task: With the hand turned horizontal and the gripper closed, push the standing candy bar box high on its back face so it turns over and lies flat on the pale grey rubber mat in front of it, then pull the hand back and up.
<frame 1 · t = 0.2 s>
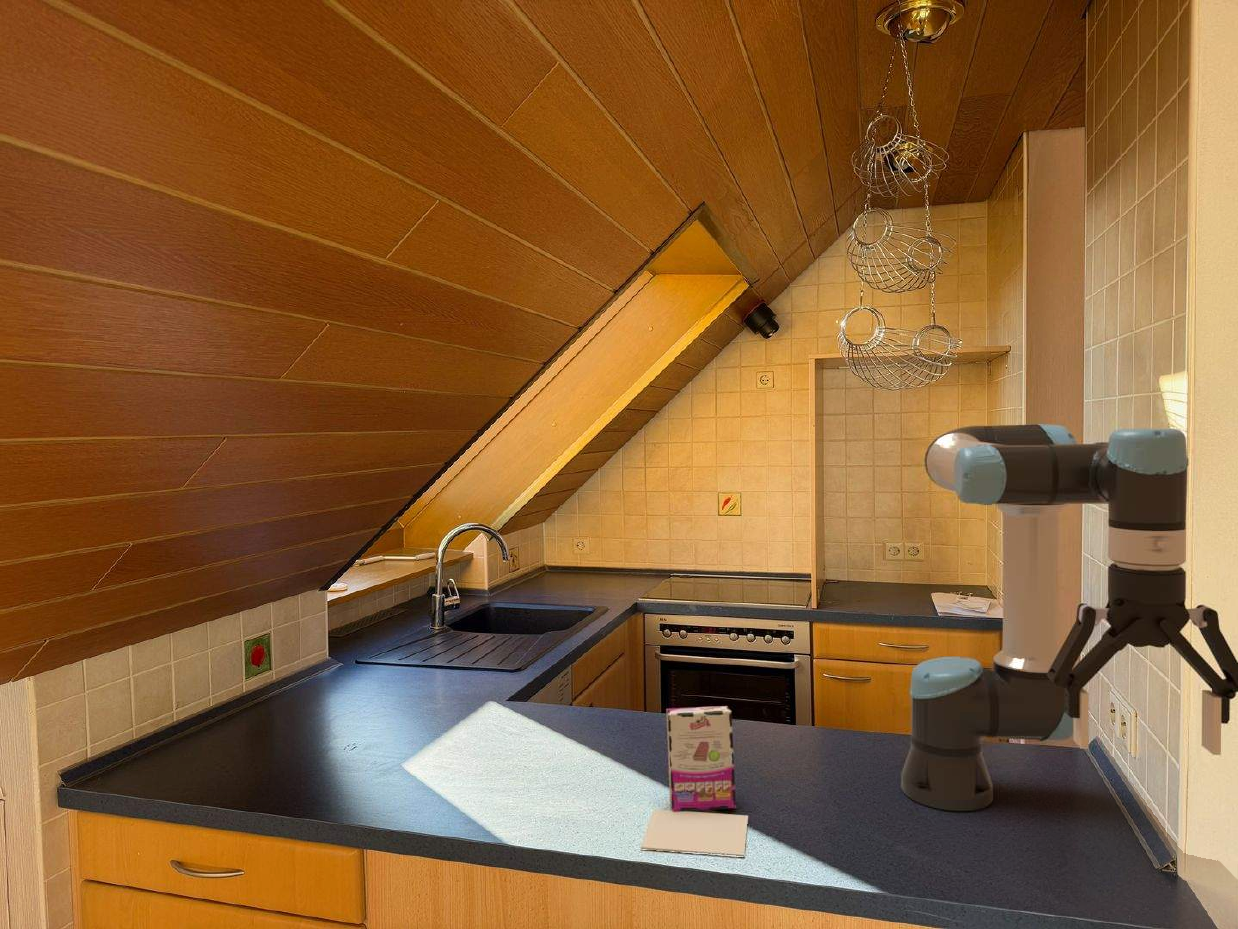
hand: (1145, 747, 97), 28 cm above the worktop, tool pointing down, fingers open, 13 cm apart
mat: (696, 833, 136), on the worktop
candy bar box: (702, 807, 145), on the worktop, touching mat
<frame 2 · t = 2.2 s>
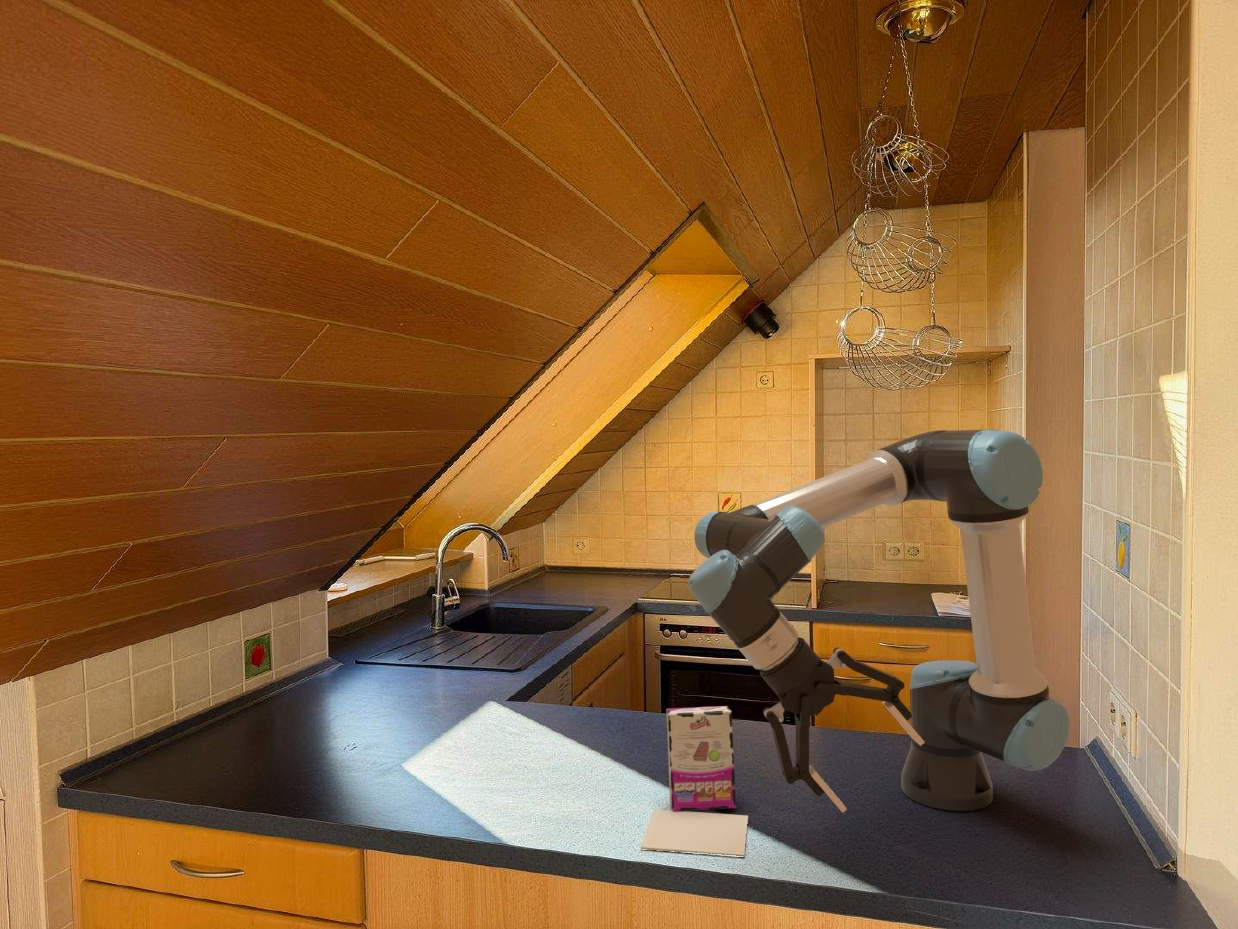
hand: (880, 774, 113), 19 cm above the worktop, tool tilted 40°, fingers open, 13 cm apart
nothing on the worktop moved.
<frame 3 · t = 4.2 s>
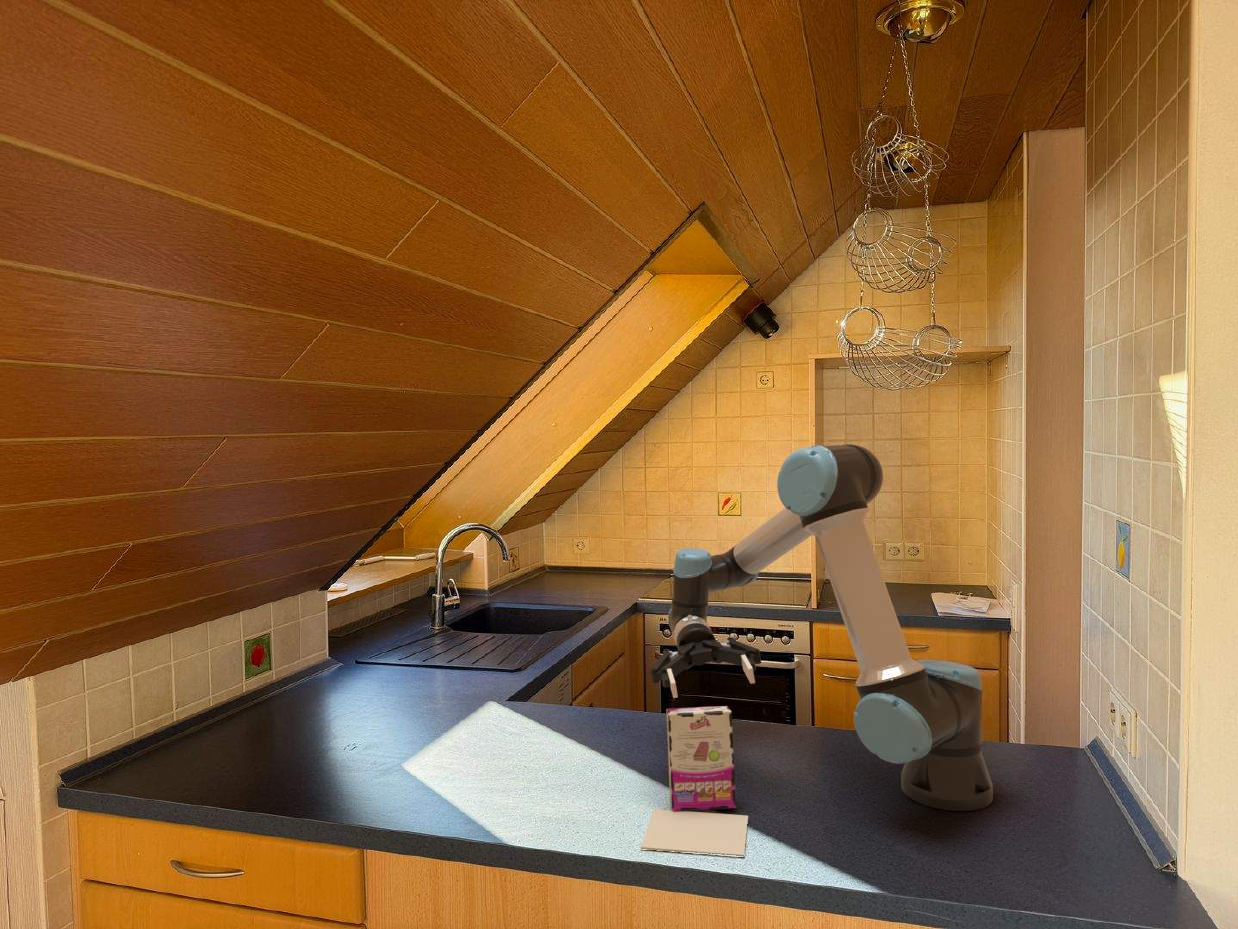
hand: (713, 683, 145), 21 cm above the worktop, tool horizontal, fingers open, 13 cm apart
nothing on the worktop moved.
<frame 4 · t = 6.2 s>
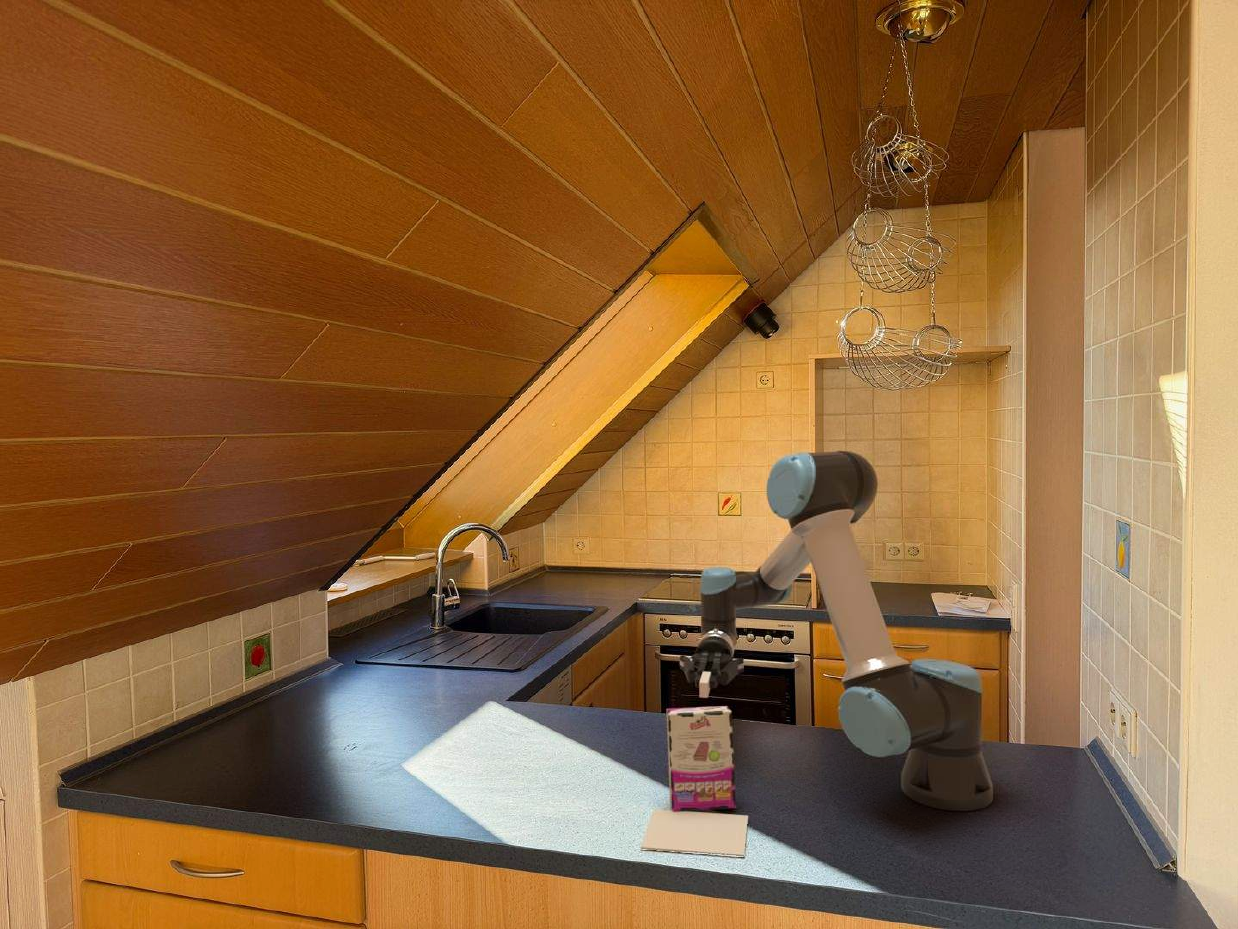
hand: (703, 690, 151), 18 cm above the worktop, tool horizontal, fingers closed
nothing on the worktop moved.
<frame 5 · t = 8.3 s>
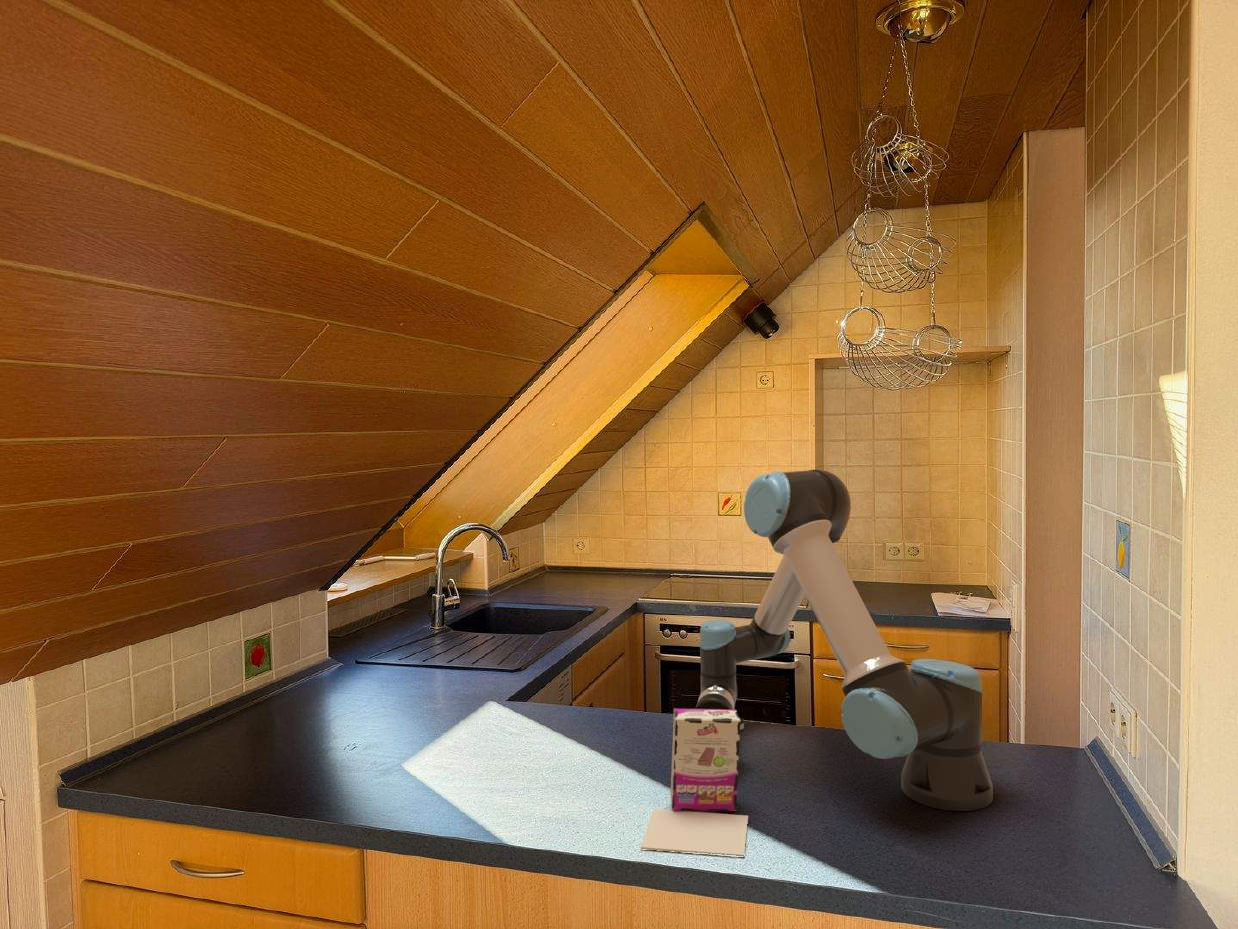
hand: (702, 756, 147), 8 cm above the worktop, tool horizontal, fingers closed
candy bar box: (702, 805, 145), on the worktop, touching gripper, mat
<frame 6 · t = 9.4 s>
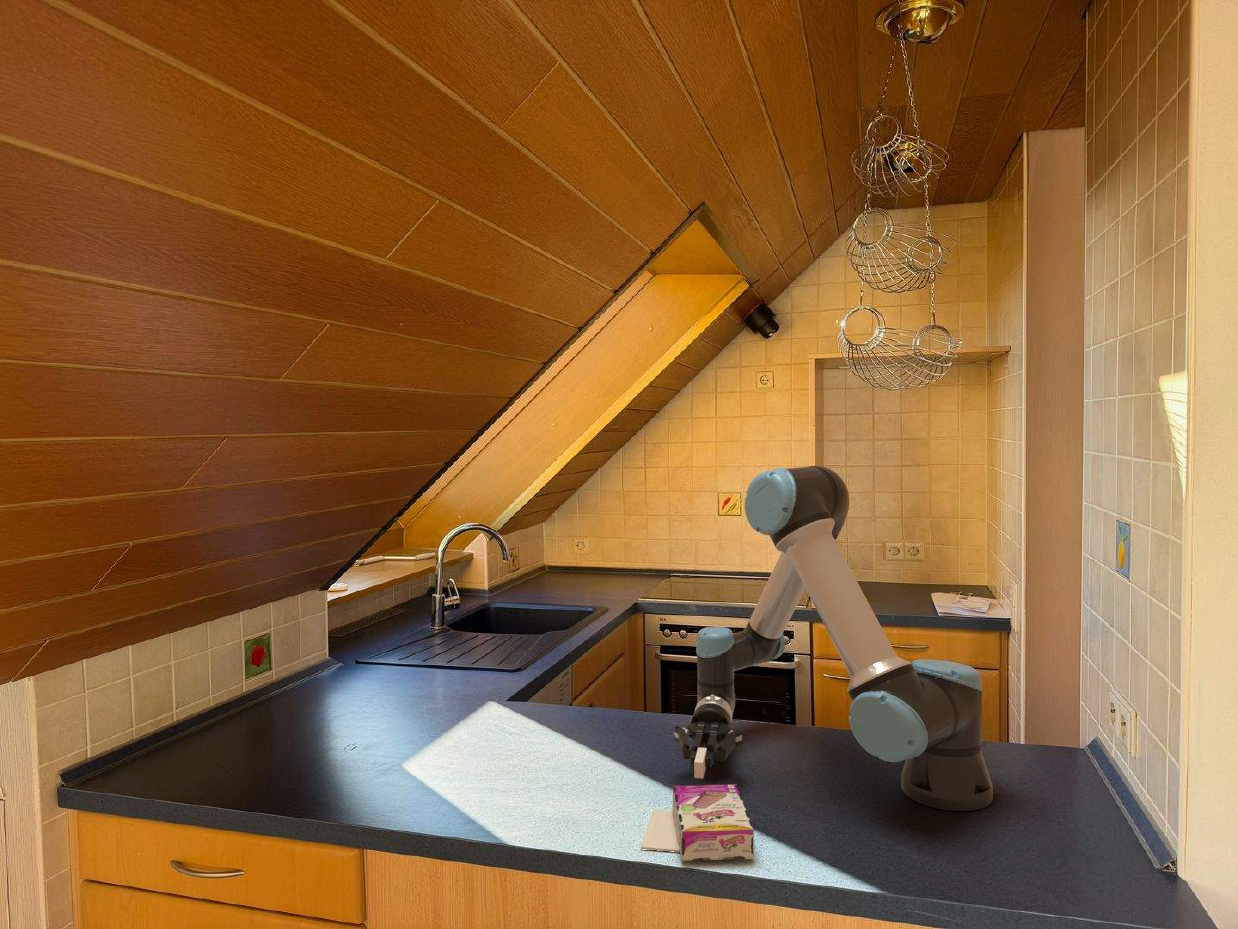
hand: (698, 770, 142), 8 cm above the worktop, tool horizontal, fingers closed
candy bar box: (703, 796, 143), point 3 cm above the worktop, touching mat
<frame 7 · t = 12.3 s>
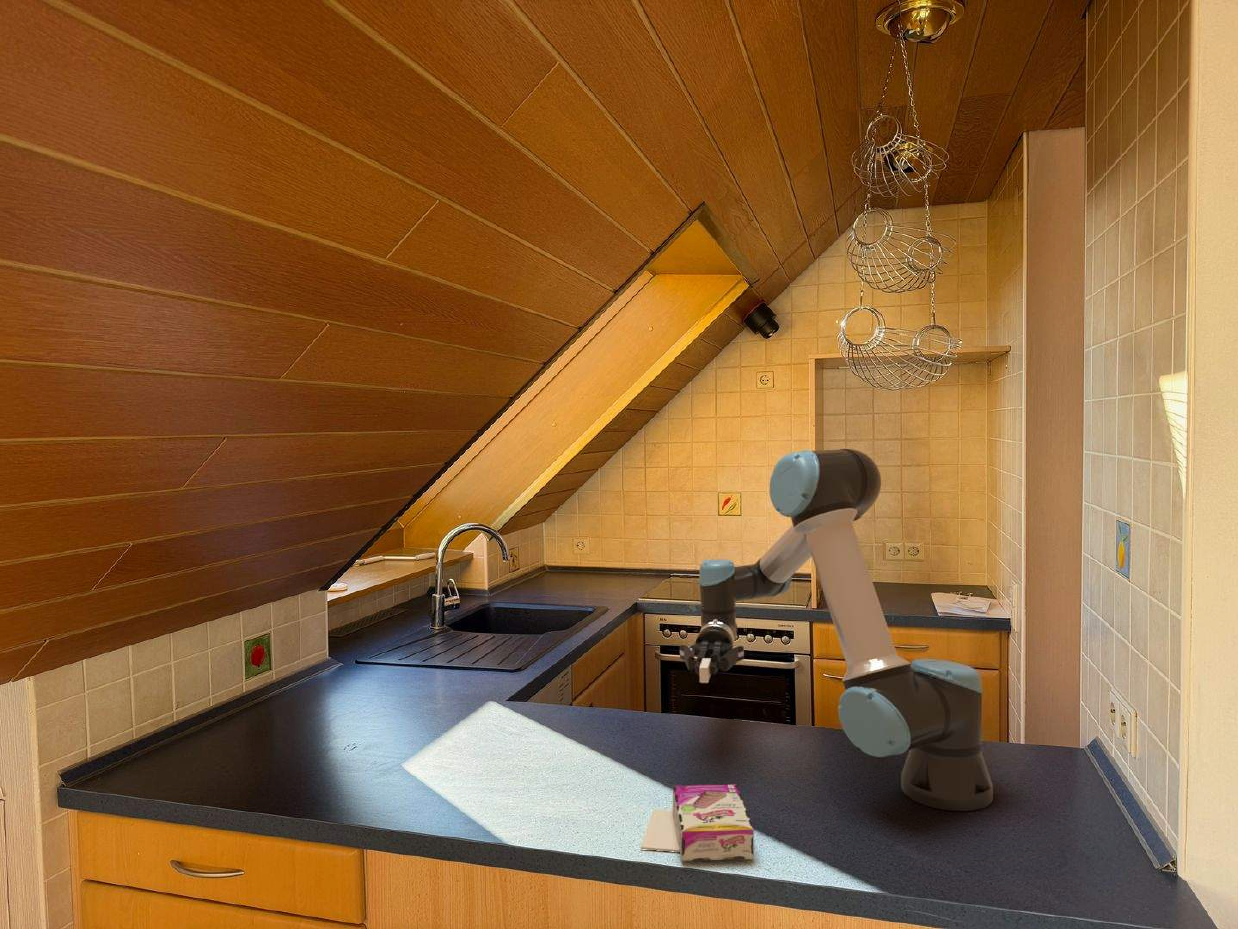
hand: (703, 675, 151), 21 cm above the worktop, tool horizontal, fingers closed
nothing on the worktop moved.
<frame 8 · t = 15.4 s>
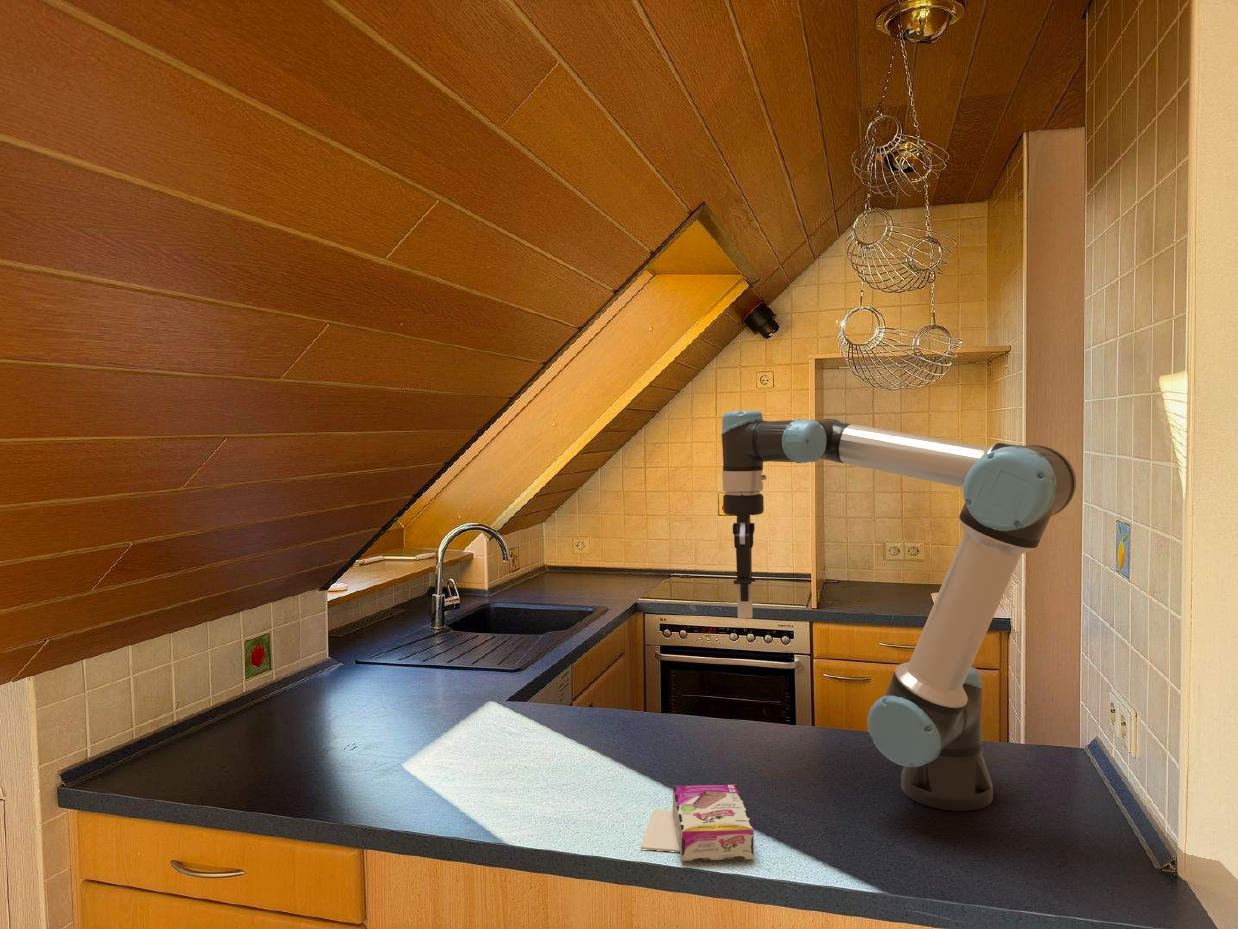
hand: (745, 617, 159), 29 cm above the worktop, tool pointing down, fingers closed
nothing on the worktop moved.
at the end: candy bar box tilted 91°; candy bar box touching mat; candy bar box inside the target area (6.7 cm from its centre), point 3.0 cm above the worktop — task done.
